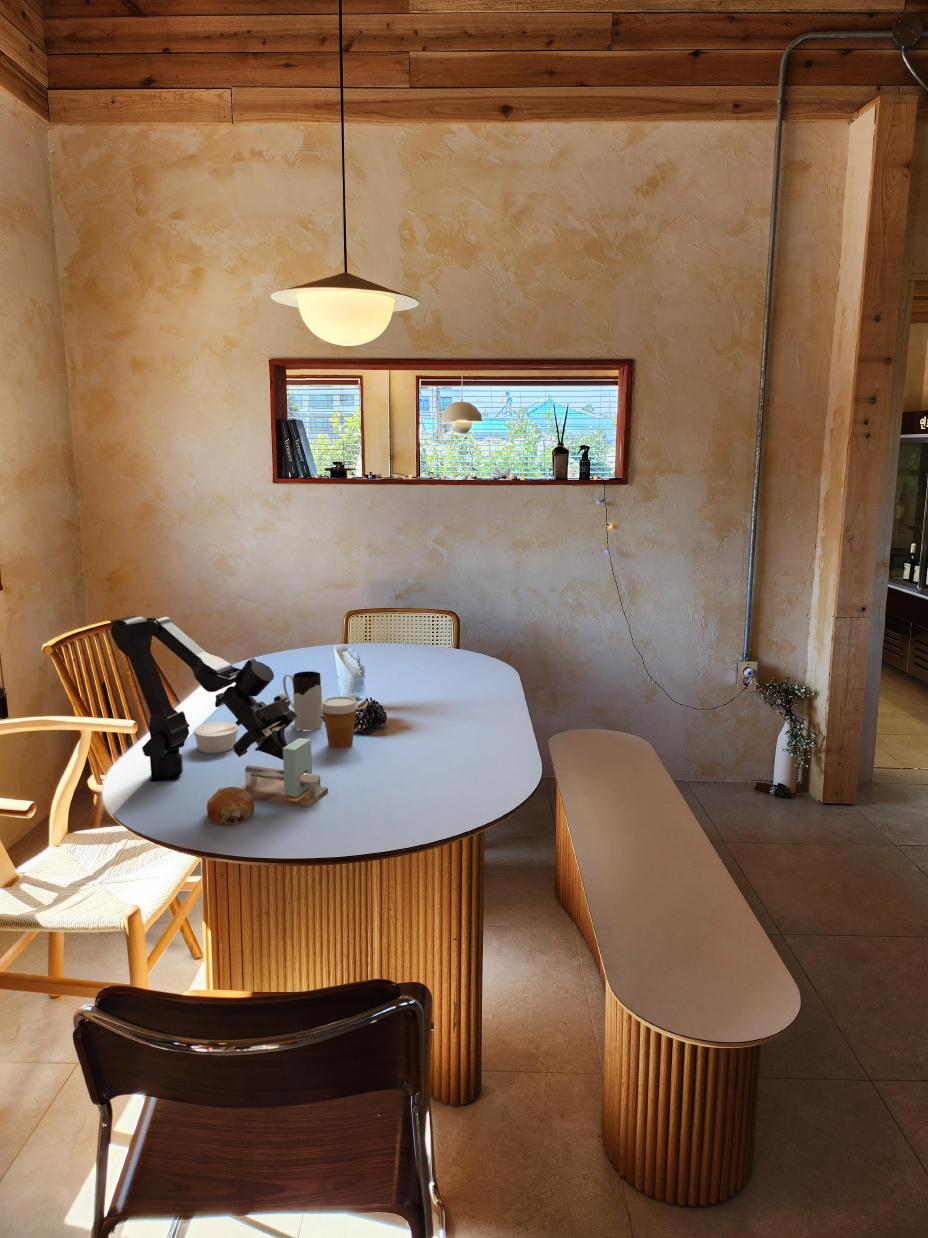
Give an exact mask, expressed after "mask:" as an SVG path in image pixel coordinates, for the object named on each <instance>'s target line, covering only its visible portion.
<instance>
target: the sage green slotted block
mask: <svg viewBox="0 0 928 1238" xmlns="http://www.w3.org/2000/svg"><path fill="white" fill-rule="evenodd" d="M311 740H312V739H311V738H301V737H299V738H297V739H295V740H293V741H292V742H291V743H289V744H287V746H286V747H284V748H283V760H282V762H283V763H282V764H283V770H284V788H285V795H286V796H293V797H298V796H299V795H300V794H301V793H303V792H304V791H305V790H307V789H308V788H309V785H307V784H301V779H300V774H302V773H308V774H313V763H312V761H313V760H312V741H311Z"/></svg>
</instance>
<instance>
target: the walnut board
mask: <svg viewBox="0 0 928 1238" xmlns="http://www.w3.org/2000/svg"><path fill="white" fill-rule="evenodd" d="M239 788H241V789H244V790H246V791H247V792H249V793H250V794H251V796H252V797H253V800H258V801H259V800H261V801H265V802H272V803H278V804H285V805H291V806H296V807H304V808H310V807H311V806H312V805H314V804H315V803H316V802H317V801H318V800H320V799H321V798H322V797H323V796H325V795H326V794H327V793H328V792H329V787H326V786H321V793H320V794H319V795H318V796H317V797H310V794H309V788H308V789H307V790H305V791H304V792H303V793H301V794H300V795H299V796H298V797H293V796H286V795H285V788H284V781H280V780H274V779H267V778H260V777H257V784H256V785H254V786H253V787H246V783H245V784H243V785H241V786H240V787H239Z"/></svg>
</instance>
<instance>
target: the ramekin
mask: <svg viewBox="0 0 928 1238" xmlns="http://www.w3.org/2000/svg"><path fill="white" fill-rule="evenodd" d="M238 727H239V726H238V725H237V724H236V723H233V722H226V721H215V722H214V721H213V722H208V723H203V724H201V725H198V726H196V727H195V728H194V730H193V736H194V738H195V742H196V746H197V749H198V750H199V751H200V752H202V753H205V754H220V753H225V751H226V752H228V750H229V751H231V750H233V745H234V744H235V743H236V742H237V738H238V737H237V735H238V731H239V728H238ZM230 749H231V750H230Z"/></svg>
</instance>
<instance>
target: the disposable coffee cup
mask: <svg viewBox="0 0 928 1238" xmlns="http://www.w3.org/2000/svg"><path fill="white" fill-rule="evenodd" d="M321 709H322V714H323V718H324V719H323V720H324V727H325V730H326V737H327V743H328V744H327V745H328V746H329V747H330V748H331V749H337V750H338V749H339V750H340V749H347V748H351V747H352V746H353V741H354V735H355V733H354V731H355V723H356V712H357V709H358V703H357V700H356V699H355V698H353V697H351V696H350V697H349V696H333V697H328V698H326V699H323V700H322V706H321Z"/></svg>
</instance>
